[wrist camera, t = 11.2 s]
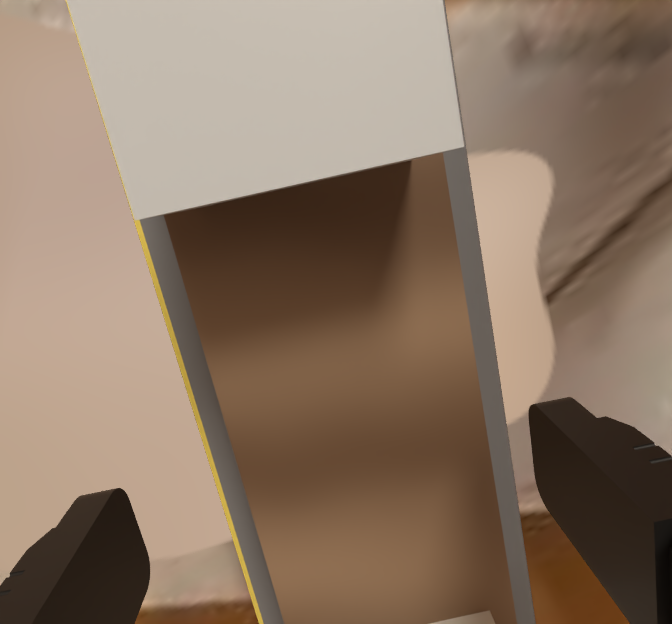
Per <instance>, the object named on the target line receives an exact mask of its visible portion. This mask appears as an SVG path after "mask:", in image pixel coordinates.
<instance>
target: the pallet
mask: <svg viewBox="0 0 672 624" xmlns="http://www.w3.org/2000/svg"><path fill="white" fill-rule="evenodd" d="M164 218H165V222H166V225H167V228H168V232H169V235H170V239H171V242H172V245H173V249H174V252H175V256H176V259H177V262H178V266H179V269H180V272H181V276H182V279H183V283H184V286H185V289H186V293H187V296H188V299H189V303H190V306H191V310H192V313H193V316H194V320H195V323H196V327H197V330H198V333H199V337H200V340H201V343H202V347H203V350H204V354H205V357H206V360H207V364H208V367H209V370H210V374H211V377H212V381H213V384H214V387H215V391H216V394H217V398H218V401H219V404H220V408H221V411H222V414H223V418H224V421H225V425H226V428H227V431H228V435H229V438H230V442H231V445H232V448H233V452H234V455H235V458H236V462H237V465H238V469H239V472H240V475H241V479H242V482H243V485H244V489H245V492H246V496H247V499H248V502H249V506H250V509H251V513H252V516H253V519H254V523H255V526H256V529H257V533H258V536H259V540H260V543H261V546H262V550H263V553H264V556H265V560H266V563H267V567H268V570H269V573H270V577H271V580H272V584H273V587H274V590H275V594H276V597H277V600H278V604H279V607H280V611H281V614H282V617H283V621H284V624H430V623H434V622H439V621H443V620H448V619H452V618H457V617H462V616H466V615H471V614H475V613H480V612H484V611H489V610H490V612H491V615H492V617H493V620H494V622H495V624H517V619H516V613H515V607H514V600H513V594H512V588H511V581H510V575H509V569H508V562H507V556H506V550H505V543H504V537H503V531H502V524H501V518H500V512H499V505H498V499H497V493H496V486H495V480H494V474H493V467H492V461H491V455H490V448H489V442H488V436H487V429H486V423H485V417H484V410H483V404H482V398H481V391H480V385H479V379H478V372H477V366H476V360H475V353H474V347H473V341H472V334H471V328H470V322H469V315H468V309H467V303H466V296H465V290H464V284H463V277H462V271H461V265H460V258H459V252H458V246H457V239H456V233H455V226H454V220H453V214H452V207H451V201H450V195H449V188H448V182H447V176H446V169H445V163H444V157H443V152H442V153H438V154H434V155H430V156H426V157H422V158H418V159H414V160H410V161H406V162H401V163H397V164H392V165H388V166H384V167H379V168H375V169H370V170H366V171H361V172H357V173H352V174H348V175H343V176H339V177H334V178H330V179H325V180H321V181H317V182H312V183H308V184H303V185H299V186H294V187H290V188H285V189H281V190H276V191H272V192H267V193H263V194H258V195H254V196H250V197H245V198H241V199H236V200H232V201H227V202H223V203H218V204H214V205H209V206H205V207H200V208H196V209H191V210H186V211H181V212H176V213H171V214H166V215H164Z"/></svg>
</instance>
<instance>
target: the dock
mask: <svg viewBox="0 0 672 624" xmlns="http://www.w3.org/2000/svg"><path fill="white" fill-rule="evenodd" d="M66 3H67V1H66ZM443 6H444V12H445V19H446V26H447V33H448V40H449V46H450V53H451V60H452V67H453V73H454V80H455V87H456V94H457V101H458V107H459V114H460V121H461V128H462V134H463V141H464V147H461V148H458V149H454V150H450V151H446V152H443V157H444V163H445V169H446V176H447V182H448V188H449V195H450V201H451V207H452V214H453V220H454V226H455V233H456V239H457V246H458V252H459V258H460V265H461V271H462V277H463V284H464V290H465V296H466V303H467V309H468V315H469V322H470V328H471V334H472V341H473V347H474V353H475V360H476V366H477V372H478V379H479V385H480V391H481V398H482V404H483V410H484V417H485V423H486V429H487V436H488V442H489V448H490V455H491V461H492V467H493V474H494V480H495V486H496V493H497V499H498V505H499V512H500V518H501V524H502V531H503V537H504V543H505V550H506V556H507V562H508V569H509V575H510V581H511V588H512V594H513V600H514V607H515V613H516V619H517V624H536V622H535V615H534V609H533V602H532V595H531V588H530V581H529V574H528V568H527V561H526V554H525V547H524V540H523V534H522V527H521V520H520V513H519V506H518V499H517V493H516V486H515V479H514V472H513V465H512V458H511V452H510V445H509V438H508V431H507V424H506V418H505V412H504V404H503V397H502V391H501V384H500V377H499V370H498V363H497V356H496V349H495V342H494V336H493V329H492V322H491V315H490V309H489V302H488V295H487V288H486V281H485V274H484V267H483V261H482V254H481V247H480V241H479V233H478V228H477V227H478V226H477V220H476V213H475V206H474V199H473V193H472V186H471V179H470V172H469V166H468V158H467V151H466V145H465V138H464V131H463V124H462V117H461V110H460V104H459V97H458V90H457V83H456V76H455V70H454V63H453V56H452V49H451V42H450V35H449V29H448V22H447V15H446V8H445V1H444V0H443ZM67 7H68V4H67ZM68 10H69V7H68ZM69 13H70V10H69ZM70 16H71V13H70ZM71 20H72V17H71ZM72 23H73V20H72ZM73 26H74V23H73ZM74 29H75V26H74ZM75 32H76V30H75ZM76 36H77V33H76ZM77 39H78V36H77ZM78 42H79V39H78ZM79 45H80V42H79ZM80 49H81V46H80ZM81 52H82V49H81ZM82 55H83V52H82ZM83 58H84V55H83ZM84 61H85V59H84ZM85 65H86V62H85ZM86 68H87V65H86ZM87 71H88V68H87ZM88 74H89V71H88ZM89 77H90V75H89ZM90 81H91V78H90ZM91 84H92V81H91ZM92 87H93V84H92ZM93 90H94V88H93ZM94 94H95V91H94ZM95 97H96V94H95ZM96 100H97V97H96ZM97 103H98V100H97ZM98 106H99V104H98ZM99 110H100V107H99ZM100 113H101V110H100ZM101 116H102V113H101ZM102 119H103V117H102ZM103 123H104V120H103ZM104 125H105V123H104ZM105 129H106V126H105ZM106 132H107V129H106ZM107 135H108V133H107ZM108 139H109V136H108ZM109 142H110V139H109ZM110 145H111V142H110ZM111 148H112V146H111ZM112 152H113V149H112ZM113 155H114V152H113ZM114 158H115V155H114ZM115 161H116V158H115ZM116 164H117V162H116ZM117 168H118V165H117ZM118 171H119V168H118ZM119 174H120V171H119ZM120 177H121V175H120ZM121 181H122V178H121ZM122 184H123V181H122ZM123 187H124V184H123ZM124 190H125V187H124ZM125 193H126V191H125ZM126 197H127V194H126ZM127 200H128V197H127ZM128 203H129V200H128ZM129 206H130V204H129ZM130 210H131V207H130ZM131 212H132V210H131ZM132 216H133V213H132ZM133 219H134V216H133ZM134 222H135V226H136V229H137V232H138V235H139V238H140V242H141V245H142V248H143V251H144V255H145V258H146V261H147V264H148V267H149V270H150V274H151V277H152V280H153V284H154V287H155V290H156V293H157V297H158V299H159V303H160V306H161V309H162V313H163V316H164V319H165V322H166V326H167V329H168V332H169V335H170V338H171V341H172V345H173V348H174V351H175V354H176V358H177V361H178V364H179V367H180V371H181V374H182V377H183V380H184V383H185V387H186V390H187V393H188V396H189V399H190V403H191V406H192V409H193V412H194V416H195V419H196V422H197V425H198V429H199V432H200V435H201V438H202V441H203V444H204V448H205V451H206V454H207V458H208V461H209V464H210V467H211V470H212V474H213V477H214V480H215V483H216V486H217V490H218V493H219V496H220V499H221V502H222V506H223V509H224V512H225V516H226V519H227V522H228V525H229V528H230V531H231V535H232V538H233V541H234V545H235V548H236V551H237V554H238V557H239V561H240V564H241V567H242V570H243V574H244V577H245V580H246V583H247V586H248V590H249V593H250V596H251V599H252V603H253V606H254V609H255V612H256V615H257V619H258V622H259V624H284V621H283V617H282V614H281V611H280V607H279V604H278V600H277V597H276V594H275V590H274V587H273V584H272V580H271V577H270V573H269V570H268V567H267V563H266V560H265V556H264V553H263V550H262V546H261V543H260V540H259V536H258V533H257V529H256V526H255V523H254V519H253V516H252V513H251V509H250V506H249V502H248V499H247V496H246V492H245V489H244V485H243V482H242V479H241V475H240V472H239V469H238V465H237V462H236V458H235V455H234V452H233V448H232V445H231V442H230V438H229V435H228V431H227V428H226V425H225V421H224V418H223V414H222V411H221V408H220V404H219V401H218V398H217V394H216V391H215V387H214V384H213V381H212V377H211V374H210V370H209V367H208V364H207V360H206V357H205V354H204V350H203V347H202V343H201V340H200V337H199V333H198V330H197V327H196V323H195V320H194V316H193V313H192V310H191V306H190V303H189V299H188V296H187V293H186V289H185V286H184V283H183V279H182V276H181V272H180V269H179V266H178V262H177V259H176V256H175V252H174V249H173V245H172V242H171V239H170V235H169V232H168V228H167V225H166V222H165V218H164V215H161V216H155V217H150V218H145V219H140V220H134Z"/></svg>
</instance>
